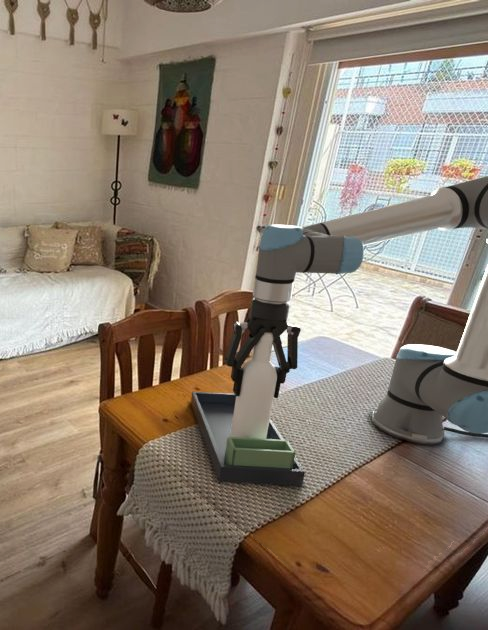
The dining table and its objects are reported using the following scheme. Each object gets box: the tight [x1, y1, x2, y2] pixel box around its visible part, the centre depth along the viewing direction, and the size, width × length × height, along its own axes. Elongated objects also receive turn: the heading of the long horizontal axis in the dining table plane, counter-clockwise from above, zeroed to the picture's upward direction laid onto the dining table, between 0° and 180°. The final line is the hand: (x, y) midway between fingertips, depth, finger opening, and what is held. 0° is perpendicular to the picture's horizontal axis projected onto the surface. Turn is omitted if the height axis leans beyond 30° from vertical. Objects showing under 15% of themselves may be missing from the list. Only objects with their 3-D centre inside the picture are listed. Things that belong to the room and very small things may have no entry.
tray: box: [190, 391, 306, 487], centre depth 111 cm, size 34×18×4 cm, turn 175°
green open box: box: [224, 437, 296, 469], centre depth 97 cm, size 5×13×7 cm, turn 85°
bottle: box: [230, 332, 277, 439], centre depth 100 cm, size 8×8×30 cm
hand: (255, 394), depth 101 cm, fingers closed on bottle, 8 cm apart
